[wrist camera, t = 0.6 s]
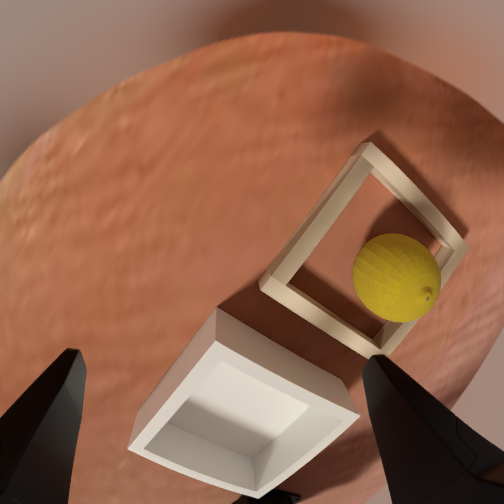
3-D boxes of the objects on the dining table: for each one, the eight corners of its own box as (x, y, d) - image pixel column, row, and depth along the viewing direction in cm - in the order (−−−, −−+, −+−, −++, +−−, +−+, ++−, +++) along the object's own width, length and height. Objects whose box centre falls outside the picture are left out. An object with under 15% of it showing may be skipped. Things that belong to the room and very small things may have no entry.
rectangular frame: (456, 242, 24) (469, 247, 22) (371, 355, 26) (379, 366, 24) (360, 143, 22) (370, 141, 20) (257, 281, 23) (260, 290, 22)
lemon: (360, 307, 25) (408, 359, 17) (323, 256, 23) (367, 297, 16) (411, 263, 24) (472, 299, 16) (379, 209, 23) (442, 229, 15)
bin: (341, 379, 26) (360, 415, 22) (253, 461, 28) (258, 498, 24) (216, 306, 24) (215, 340, 19) (138, 410, 26) (127, 448, 21)
